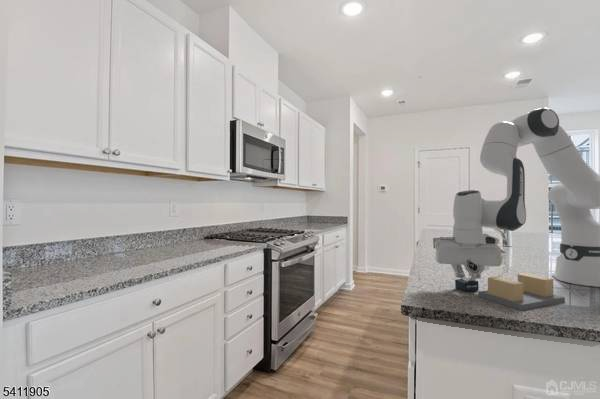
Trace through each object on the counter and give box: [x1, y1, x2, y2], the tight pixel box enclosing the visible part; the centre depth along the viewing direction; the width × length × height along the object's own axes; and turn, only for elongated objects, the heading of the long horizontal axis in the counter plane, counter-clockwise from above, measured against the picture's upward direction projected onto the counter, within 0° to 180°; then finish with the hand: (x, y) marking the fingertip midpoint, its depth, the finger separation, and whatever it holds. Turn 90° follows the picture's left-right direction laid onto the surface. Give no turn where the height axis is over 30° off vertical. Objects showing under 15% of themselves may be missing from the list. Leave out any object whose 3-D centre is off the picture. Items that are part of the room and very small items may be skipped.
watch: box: [454, 259, 480, 293], centre depth 102 cm, size 6×8×11 cm
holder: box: [477, 272, 566, 311], centre depth 93 cm, size 20×13×6 cm, turn 111°
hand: (467, 277), depth 102 cm, fingers open, 5 cm apart
